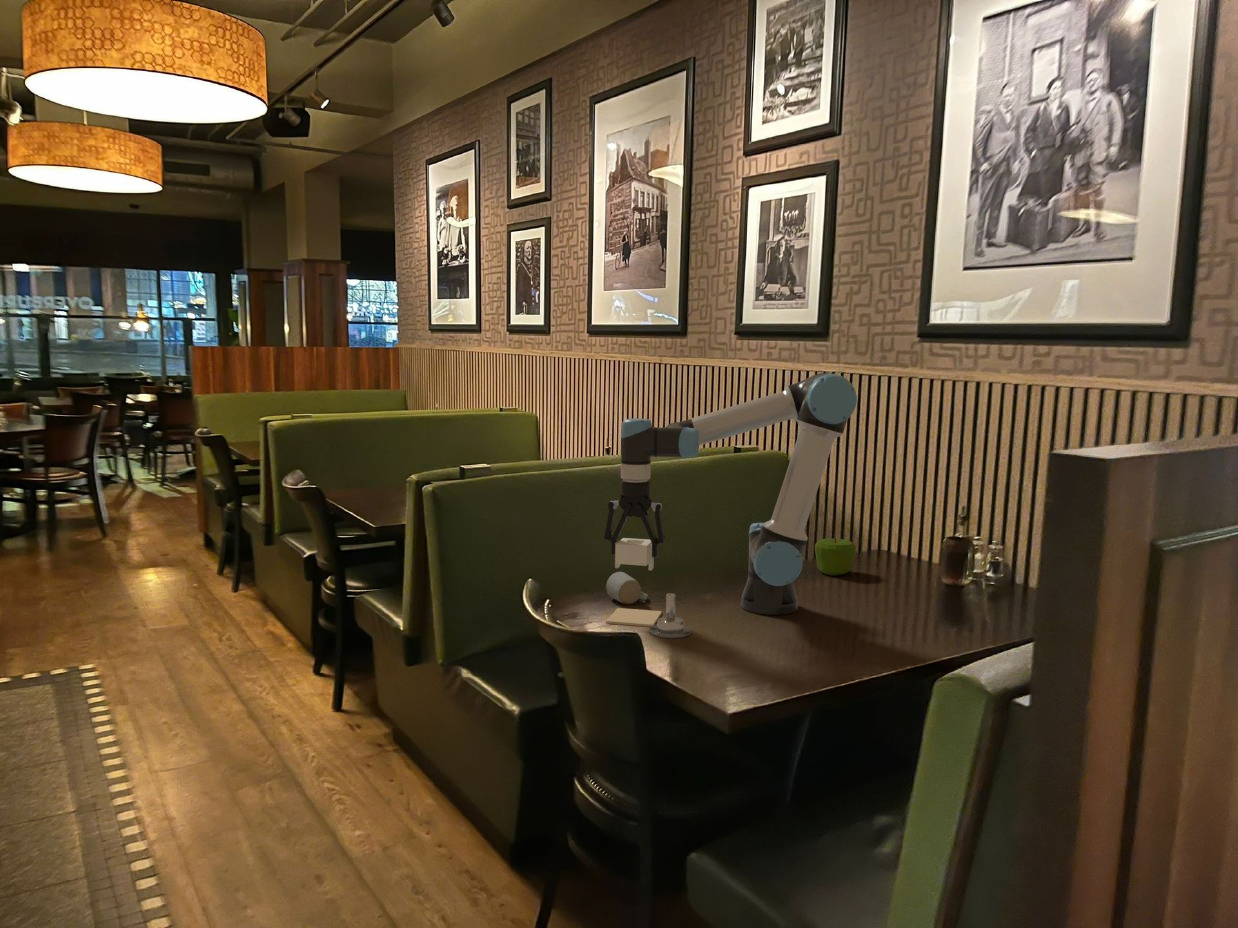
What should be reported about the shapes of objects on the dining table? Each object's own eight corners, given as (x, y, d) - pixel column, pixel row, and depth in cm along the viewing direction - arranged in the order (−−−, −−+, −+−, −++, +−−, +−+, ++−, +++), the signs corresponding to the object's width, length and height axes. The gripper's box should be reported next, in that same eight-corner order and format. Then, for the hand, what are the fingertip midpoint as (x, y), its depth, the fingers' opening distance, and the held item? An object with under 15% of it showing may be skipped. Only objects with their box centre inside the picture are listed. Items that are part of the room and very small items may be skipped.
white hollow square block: (652, 558, 231) (653, 539, 230) (646, 565, 223) (646, 546, 222) (622, 556, 233) (622, 537, 232) (615, 563, 225) (615, 544, 224)
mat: (661, 613, 234) (661, 611, 234) (652, 626, 223) (652, 624, 223) (617, 610, 237) (617, 607, 237) (606, 623, 225) (606, 620, 225)
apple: (859, 578, 272) (860, 542, 270) (818, 578, 272) (820, 541, 270) (849, 568, 284) (850, 533, 283) (810, 568, 284) (811, 533, 283)
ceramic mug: (619, 607, 240) (619, 579, 239) (605, 599, 247) (605, 572, 246) (653, 603, 245) (654, 575, 244) (638, 595, 252) (639, 569, 251)
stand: (693, 627, 222) (694, 590, 221) (687, 640, 213) (687, 601, 211) (654, 624, 225) (654, 587, 223) (646, 636, 215) (646, 598, 214)
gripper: (678, 479, 226) (677, 567, 229) (599, 476, 231) (598, 561, 234) (673, 483, 219) (671, 574, 222) (591, 480, 224) (591, 568, 227)
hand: (634, 567), depth 228 cm, fingers closed on white hollow square block, 8 cm apart
